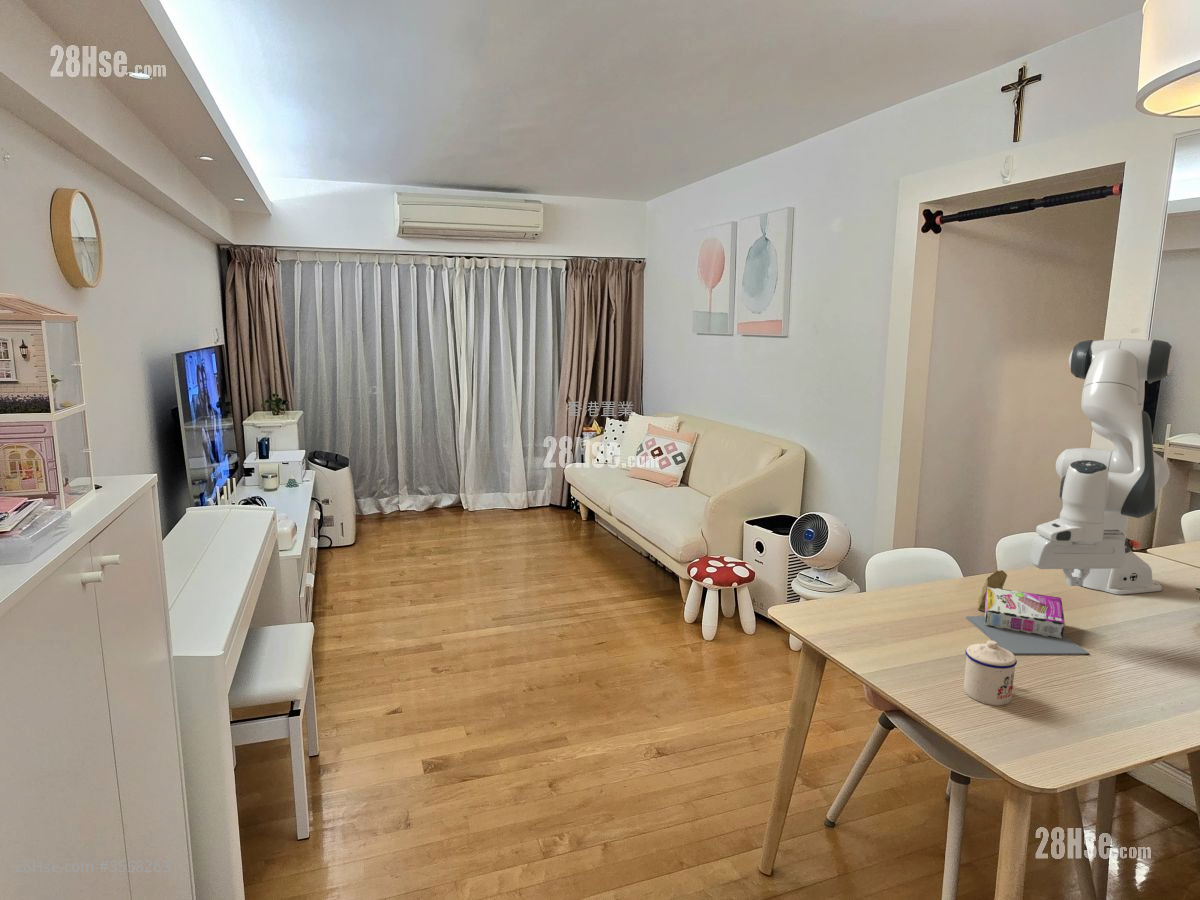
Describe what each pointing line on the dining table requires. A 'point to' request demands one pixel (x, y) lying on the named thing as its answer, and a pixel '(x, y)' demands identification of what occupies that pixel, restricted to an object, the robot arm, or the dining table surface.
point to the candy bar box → (1024, 612)
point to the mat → (1027, 641)
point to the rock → (992, 581)
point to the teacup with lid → (989, 673)
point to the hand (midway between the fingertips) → (1074, 585)
